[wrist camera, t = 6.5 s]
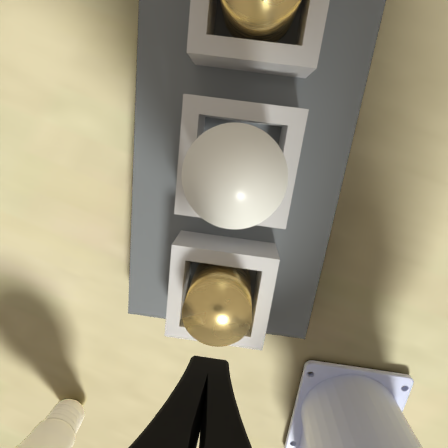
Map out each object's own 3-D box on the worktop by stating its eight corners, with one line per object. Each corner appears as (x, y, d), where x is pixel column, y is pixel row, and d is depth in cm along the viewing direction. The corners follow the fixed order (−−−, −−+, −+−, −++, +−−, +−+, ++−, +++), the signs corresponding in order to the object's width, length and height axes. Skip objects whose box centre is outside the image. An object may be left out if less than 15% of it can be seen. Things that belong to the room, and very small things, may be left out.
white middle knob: (268, 209, 14) (278, 235, 11) (195, 198, 15) (177, 222, 11) (282, 131, 13) (297, 129, 10) (202, 121, 14) (186, 115, 10)
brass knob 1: (246, 308, 20) (246, 351, 16) (191, 300, 20) (179, 341, 16) (254, 258, 19) (257, 290, 15) (196, 250, 19) (184, 280, 15)
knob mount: (299, 321, 22) (313, 366, 18) (138, 297, 22) (112, 336, 18) (382, -43, 16) (434, -110, 11) (154, -68, 16) (121, -143, 12)
